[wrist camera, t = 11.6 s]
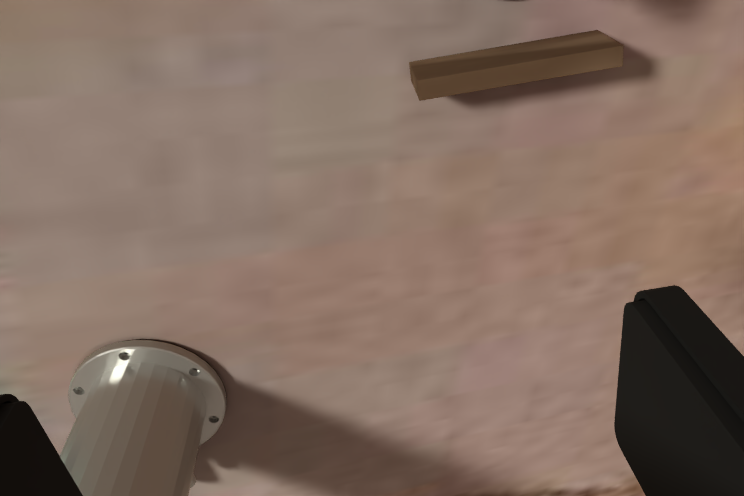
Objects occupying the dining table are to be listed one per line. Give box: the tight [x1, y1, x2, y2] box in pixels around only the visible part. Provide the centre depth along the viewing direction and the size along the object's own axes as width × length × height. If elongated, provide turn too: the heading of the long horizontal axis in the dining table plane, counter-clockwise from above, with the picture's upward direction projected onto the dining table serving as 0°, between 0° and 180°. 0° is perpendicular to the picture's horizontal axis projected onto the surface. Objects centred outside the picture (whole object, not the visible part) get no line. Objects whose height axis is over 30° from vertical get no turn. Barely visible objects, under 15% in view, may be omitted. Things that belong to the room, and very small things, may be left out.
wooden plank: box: [409, 30, 624, 101], centre depth 38 cm, size 1×12×4 cm, turn 99°
